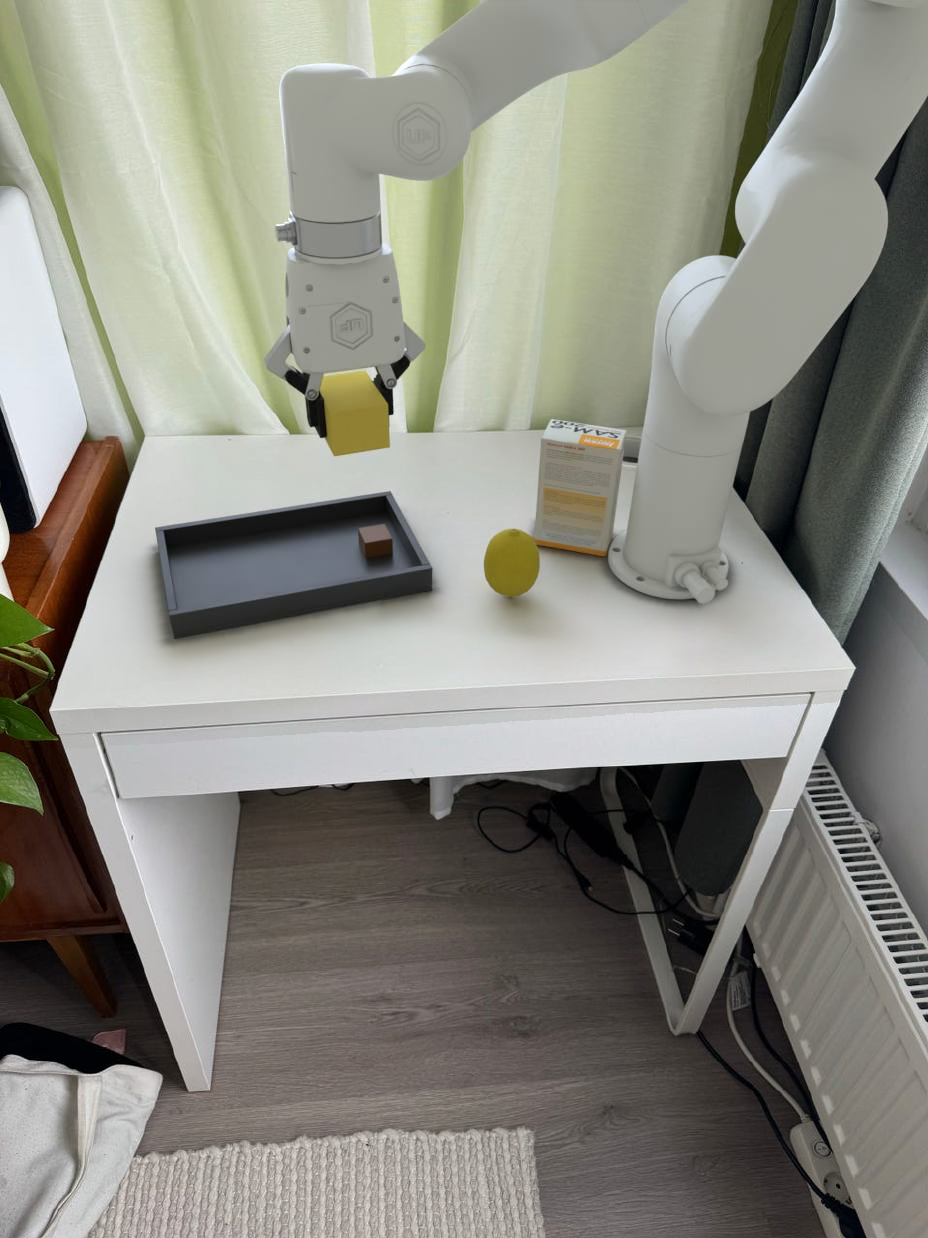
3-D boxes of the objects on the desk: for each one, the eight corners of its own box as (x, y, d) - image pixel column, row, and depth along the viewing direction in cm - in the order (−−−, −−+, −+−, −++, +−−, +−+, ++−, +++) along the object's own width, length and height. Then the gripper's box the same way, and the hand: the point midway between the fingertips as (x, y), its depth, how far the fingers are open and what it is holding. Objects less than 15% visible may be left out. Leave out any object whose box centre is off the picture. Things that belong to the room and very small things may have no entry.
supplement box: (613, 535, 103) (629, 428, 95) (606, 559, 100) (622, 449, 91) (541, 522, 105) (551, 416, 97) (531, 544, 101) (540, 436, 93)
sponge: (390, 447, 89) (388, 404, 86) (333, 456, 87) (330, 412, 84) (367, 411, 95) (365, 370, 92) (314, 419, 93) (310, 377, 90)
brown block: (393, 554, 98) (392, 538, 97) (365, 558, 98) (364, 543, 96) (385, 539, 101) (385, 523, 99) (358, 543, 100) (357, 527, 98)
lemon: (521, 619, 91) (527, 552, 86) (472, 601, 93) (475, 535, 88) (545, 590, 95) (552, 524, 90) (498, 573, 97) (501, 508, 92)
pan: (432, 590, 94) (432, 568, 93) (174, 638, 88) (168, 615, 86) (391, 511, 106) (390, 490, 104) (159, 549, 99) (154, 527, 97)
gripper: (244, 257, 74) (271, 458, 85) (447, 236, 79) (447, 430, 90) (229, 230, 79) (256, 423, 91) (420, 212, 84) (423, 398, 95)
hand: (351, 425), depth 90 cm, fingers closed on sponge, 5 cm apart
